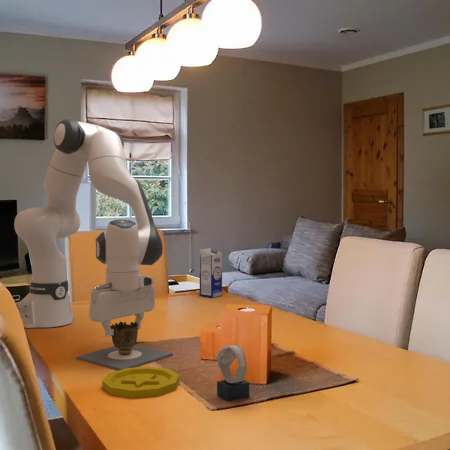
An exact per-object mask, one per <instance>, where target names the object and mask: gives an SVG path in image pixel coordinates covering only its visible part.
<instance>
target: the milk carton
mask: <svg viewBox="0 0 450 450" xmlns="http://www.w3.org/2000/svg"><path fill="white" fill-rule="evenodd" d="M200 296H202V297H201V298H206V297H207V299H215V298H219V297H222V296H223V253H222V252H220V251H219V250H218V249H215V248H210V247H207V248H202V249H199V297H200Z"/></svg>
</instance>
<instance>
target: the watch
mask: <svg viewBox="0 0 450 450" xmlns="http://www.w3.org/2000/svg"><path fill="white" fill-rule="evenodd" d="M215 359H216V361H217V365H218V367H219V370H220V373H221V376H222V377H223V379H224V380H223V379H222V380H218V381H217V380H216V384H217V385H216V396H217V397H219V398H220V399H222V400H224V401H226V402H232V401H236V400H240V399H246V398H249V397H250V382H249V381H246V380H245V377H246V374H247V372H248V371H247V370H248V367H247V366H248V365H247V364H248V361H247V357H246V353H245V351H244V349H243V348H242V347H241V346H240V345H237V344H234V345H233V344H228V345H224V346H223V347H222V348H220V349H219V350H218V352H217V353H216V355H215ZM236 359H237V368H236V370H235V374H234V376H233V373H232V370H231V366H232V365H233V363H234V361H235V360H236Z"/></svg>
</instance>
